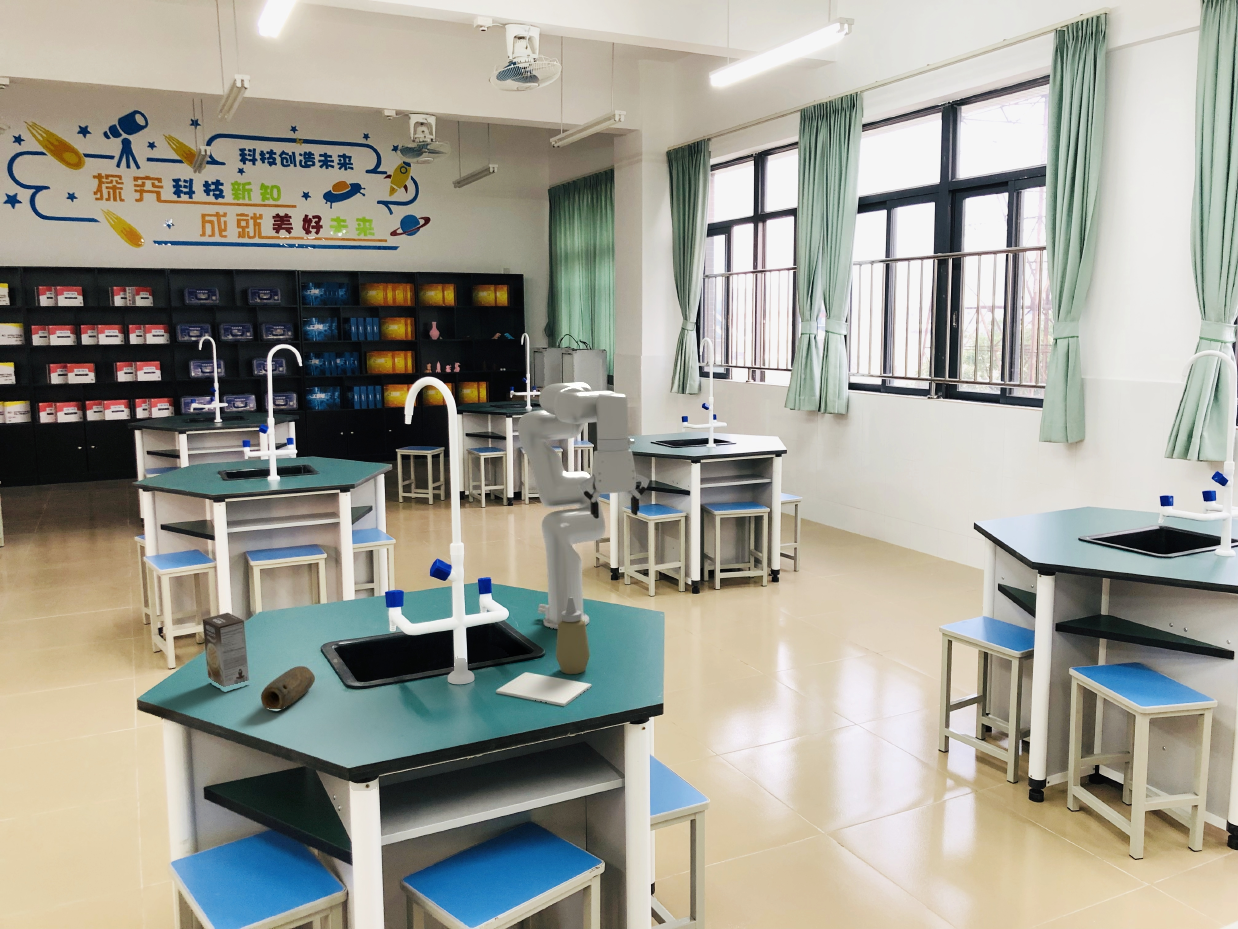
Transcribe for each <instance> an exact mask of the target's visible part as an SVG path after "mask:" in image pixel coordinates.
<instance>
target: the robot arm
mask: <svg viewBox="0 0 1238 929" xmlns="http://www.w3.org/2000/svg"><path fill="white" fill-rule="evenodd" d="M538 399H539V405H540V407H541V408H542V409H540V410H534V411H530V412H526V413H524V414H523V415H521V417H520V418H519V420H518V423H517V424H518V425H517V432H518V438H519V442H520V445H521V448H522V450H523V452H524V453H525V455H526V458H528V460H529V463H530V466H531V469H532V470H531V471H532V474H533V478H534V482H535V486H536V489H537V492H538V493H537V494H538V497H539V500H540V502H541V504H542V505H543V506H544V507H545V508H548V509H554V508H555V509H556V508H565V507H566V508H567V507H575V506H577V508H569V509H568V508H567V509H566V508H565V509H561V510H555V511H551V512H550V513H547V514H546V515H545V516H544V517H543V519H542V521H541V531H542V532H541V533H542V536H543V540H544V547H545V554H546V570H547V571H546V572H547V577H546V578H547V598H548V599H547V601H548V604H545V603H544V604H543V603H539V605H538V609H537V613H538V614H544V615H545V616H544V618H543V625H544V626H545V627H547V628H549V627H550V629H553V628H554V629H555V630H558V623H559V622H560V621H561V620H562V612H563V611H566V608H567V602H568V598H569V597H573V599H574V603H575V607H576V610H578V611H580V612H581V619H582V620H583V621H585V625H586V626H587V625H588V624H589V623H590V617H589V615H587V614H586V613H584V597H583V596H584V594H583V568H582V567H583V566H582V558H581V556H580V554H579V553H578V552H577V551H576V549H574V547H573V545H577V544H581V543H589V542H593V541H599V540H601V539H602V538H603V537H604V535H605V533H606V521H605V516H604V512H603V509H602V505H601V502H600V497H601V495H606V494H607V495H608V494H619V493H630V494H631V497H630V513H631V514H632V515H634V516H638V512H639V511H640V498H642V496H643V495H644V493H645V492H646V489H647V487H648V485H649V483H650V479H649V478H647V477H644V476H643V475H640V474H638V473H636V466H635V460H634V454H633V451H632V449H630V448H631V446H633V445H635V439H632V438H630V437H629V434H630V433H629V432H630V431H629V407H628V406H629V403H628V402H629V401H628V398H627V396H626V395H625V394H624V393H617V392H615V391H612V390H592V388H591V386H589V385H588V384H587V383H585V382H582V381H581V382H562V383H561V382H559V383H552V384H549V385H547V386H545V387H544V388H543V389H542V390H541V391H540V394H539V398H538ZM588 423H596V440H597V441H596V442H597V444H596V446H597V450H595V451H593V456H592V465H591V468H592V469H591V471H592V472H591V474H589V473H588V472H586V471H584V470H576V471H566V470H565V468H564V465H563V462H562V461H563V460H562V458H561V455H560V453H558V452H557V450H555V448H554V447H552V446H551V445H550V444H548V443H547V442H546V441H554V440H555V441H556V440H566V439H573V438H577V437H578V436H579V435H580V434H581V433H582V431H583V429H584V427H585V425H586V424H588ZM637 481H640V483H641V484H640V486H639V487H638V488H637ZM636 488H637V489H636Z"/></svg>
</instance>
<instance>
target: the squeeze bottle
mask: <svg viewBox="0 0 1238 929" xmlns="http://www.w3.org/2000/svg"><path fill="white" fill-rule="evenodd" d="M590 656H591V654H590V648H589V640H588V634H587V625H585V621H583V620H582V619H581V612H580V611H578V610H576V607H575V603H574V599H573V597H569V598H568V602H567V608H566V611H563V612H562V620H561V621H560V622H559V623H558V629H557V636H556V649H555V659H556V661H557V663H558V666H559V668H560V670H561V673H564V674H566V675H578V674H581V673H584V672H585V671H586V669H587V666H588V663H589V660H590Z"/></svg>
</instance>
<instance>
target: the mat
mask: <svg viewBox="0 0 1238 929" xmlns="http://www.w3.org/2000/svg"><path fill="white" fill-rule="evenodd" d="M591 686H593V684H591V683H587V682H582V681H581V682H580V681H577V680H570V679H565V678H559V677H553V676H548V675H543V674H538V673H532V672H526V671H525V672H524V673H522V674H520V675H519V676H517V677H515V678H514V679H512V680H511V681H509V682H507V683H505V684H504V685H503V686H501V687H499V688H497V689H496V690H495V693H496V694H500V695H506V696H511V697H516V698H521V699H526V700H531V701H535V700H536V701H535V702H540V701H542V702H541V703H545V702H547V703H546V704H550V705H557V706H562V707H566V706H567V705H568V704H569V703H571V702H573V701H574V700H575V699H576V697H577V698H578V697H579V696H581V695H582V694H584V693H585V692H586V691H588V690H589V689H590V687H591ZM591 688H592V687H591ZM587 689H588V690H587ZM584 691H585V692H584ZM583 692H584V693H583ZM580 694H581V695H580Z"/></svg>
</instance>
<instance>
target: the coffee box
mask: <svg viewBox="0 0 1238 929" xmlns="http://www.w3.org/2000/svg"><path fill="white" fill-rule="evenodd" d="M201 620H202V628H203V629H202V630H203V638H204V639H203V640H204V647H205V648H204V649H205V658H206V659H205V661H206V670H207V678H210V679H211V680H212V681H214V682H216V683H218V684H219V685H221V686H223V687H226V686H230V685H234V684H238V683H241V682H245V681H248V680H249V681H250V676H249V666H248V664H249V663H248V652H247V651H248V650H247V640H246V629H245V627H246V626H245V620H244V619H242V618H239V617H238V616H236V615H234V614H232V613H230V612H225V613H221V614H217V615H213V616H209V617H205V618H203V619H201Z"/></svg>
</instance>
